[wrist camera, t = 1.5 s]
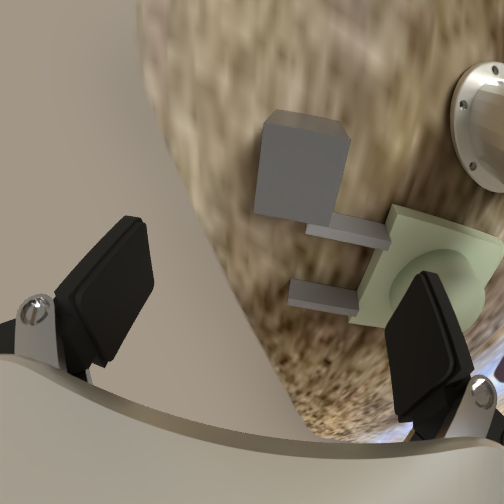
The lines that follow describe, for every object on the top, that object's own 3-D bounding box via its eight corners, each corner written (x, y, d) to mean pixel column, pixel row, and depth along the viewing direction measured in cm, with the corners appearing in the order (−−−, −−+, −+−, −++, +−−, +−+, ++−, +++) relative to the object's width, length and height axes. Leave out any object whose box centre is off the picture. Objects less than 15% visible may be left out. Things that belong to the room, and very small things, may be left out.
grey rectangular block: (338, 121, 20) (350, 139, 14) (324, 186, 23) (328, 227, 18) (276, 109, 20) (264, 122, 15) (267, 176, 24) (253, 213, 18)
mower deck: (499, 238, 22) (524, 272, 17) (445, 324, 30) (456, 360, 25) (313, 184, 23) (313, 218, 19) (285, 299, 32) (279, 340, 27)
